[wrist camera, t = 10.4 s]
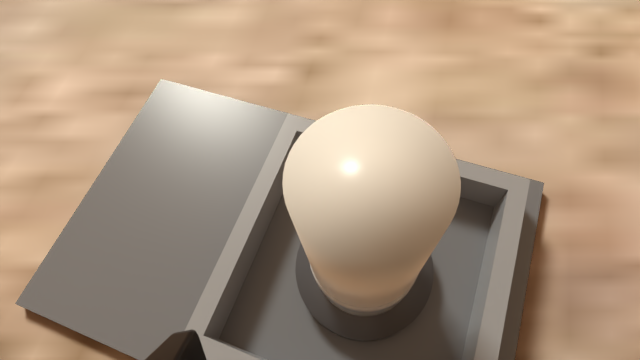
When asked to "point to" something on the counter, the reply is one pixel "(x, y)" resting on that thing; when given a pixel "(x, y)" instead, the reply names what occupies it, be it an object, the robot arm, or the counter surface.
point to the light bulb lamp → (369, 216)
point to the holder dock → (260, 247)
